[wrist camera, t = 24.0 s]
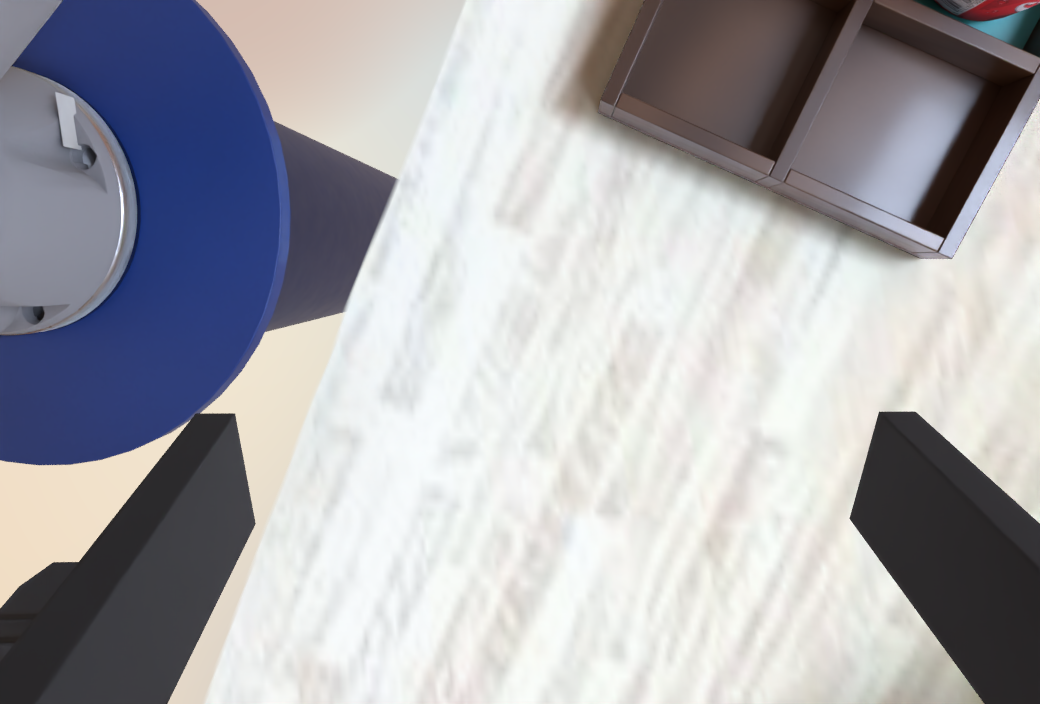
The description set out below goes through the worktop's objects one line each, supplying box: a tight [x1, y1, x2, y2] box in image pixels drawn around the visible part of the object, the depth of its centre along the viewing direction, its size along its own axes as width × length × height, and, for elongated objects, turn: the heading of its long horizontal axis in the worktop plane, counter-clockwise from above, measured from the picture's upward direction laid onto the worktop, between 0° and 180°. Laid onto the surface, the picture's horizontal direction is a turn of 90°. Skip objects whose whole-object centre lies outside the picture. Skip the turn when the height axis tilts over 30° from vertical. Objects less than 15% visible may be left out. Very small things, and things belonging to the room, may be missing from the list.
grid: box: [598, 0, 1040, 259], centre depth 34 cm, size 19×19×3 cm
